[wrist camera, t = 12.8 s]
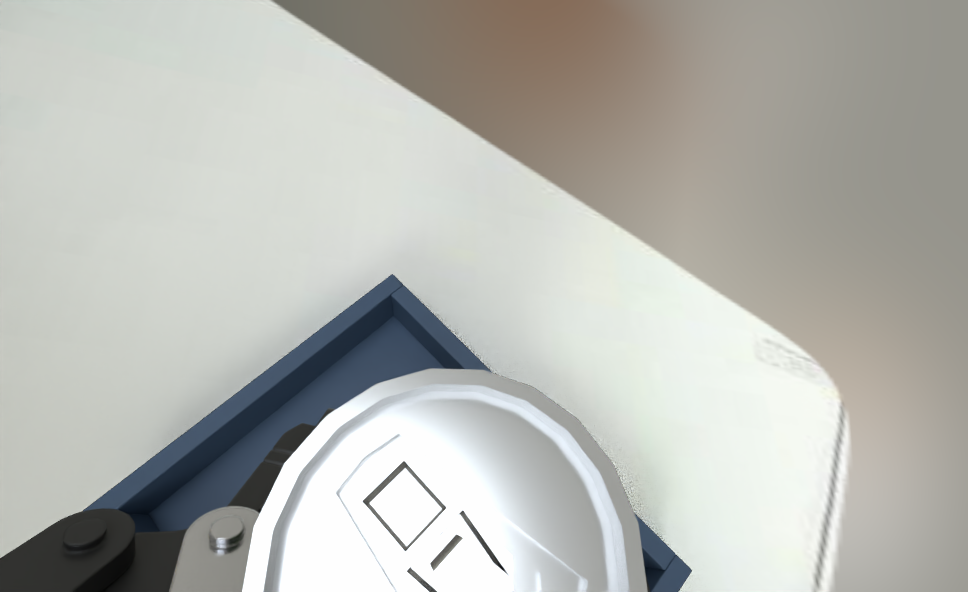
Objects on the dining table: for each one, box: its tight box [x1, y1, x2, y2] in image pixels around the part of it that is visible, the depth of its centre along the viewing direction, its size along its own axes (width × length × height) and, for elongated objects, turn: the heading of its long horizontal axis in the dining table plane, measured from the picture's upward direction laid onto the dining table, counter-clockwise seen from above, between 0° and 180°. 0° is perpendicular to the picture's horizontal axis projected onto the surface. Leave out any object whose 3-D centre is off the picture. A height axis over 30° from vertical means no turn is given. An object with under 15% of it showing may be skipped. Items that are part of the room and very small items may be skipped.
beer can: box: [242, 368, 648, 592], centre depth 11 cm, size 5×5×12 cm
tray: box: [82, 274, 692, 592], centre depth 20 cm, size 18×15×3 cm
